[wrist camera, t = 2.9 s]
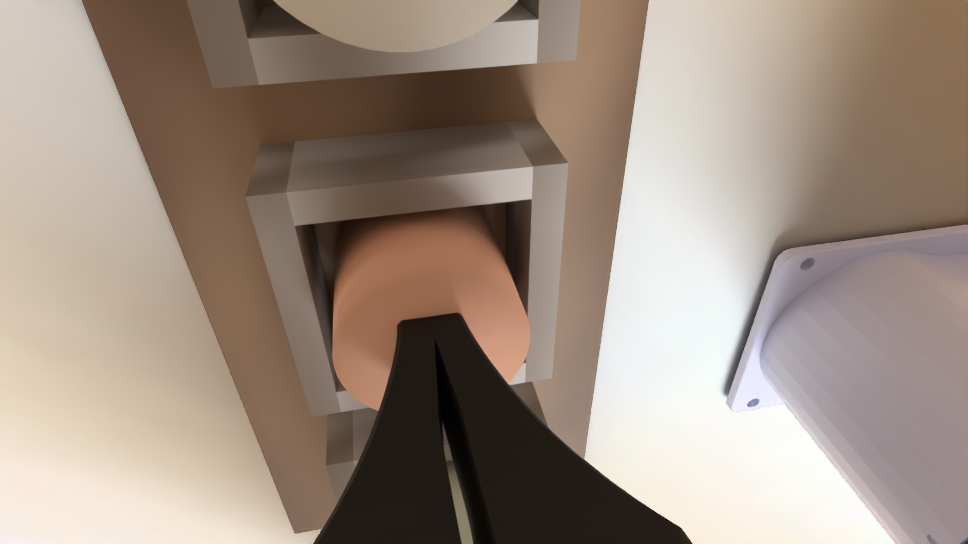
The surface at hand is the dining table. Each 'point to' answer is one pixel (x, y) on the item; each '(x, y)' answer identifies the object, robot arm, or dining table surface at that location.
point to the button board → (377, 189)
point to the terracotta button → (420, 291)
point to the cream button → (397, 21)
